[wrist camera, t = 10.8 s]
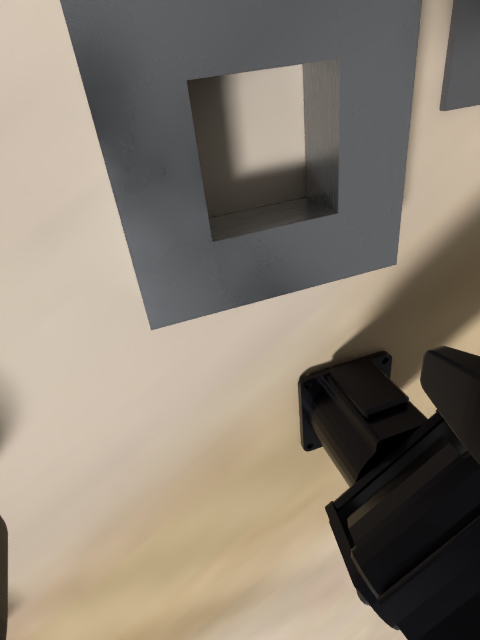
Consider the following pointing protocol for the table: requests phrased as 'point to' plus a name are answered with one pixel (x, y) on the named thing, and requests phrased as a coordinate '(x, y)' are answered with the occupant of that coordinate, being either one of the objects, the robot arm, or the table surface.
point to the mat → (462, 57)
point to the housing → (182, 154)
